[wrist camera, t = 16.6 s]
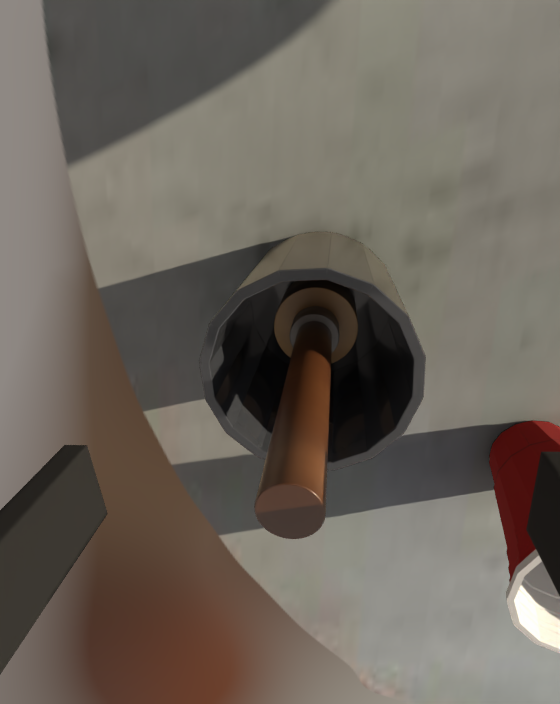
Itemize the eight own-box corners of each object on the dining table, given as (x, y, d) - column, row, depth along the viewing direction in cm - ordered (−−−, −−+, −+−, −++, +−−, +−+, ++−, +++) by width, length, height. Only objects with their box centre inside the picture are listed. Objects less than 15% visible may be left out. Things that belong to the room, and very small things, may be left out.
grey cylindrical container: (396, 226, 27) (431, 262, 17) (392, 372, 31) (419, 472, 21) (239, 236, 28) (184, 274, 18) (254, 374, 32) (216, 469, 22)
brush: (355, 271, 28) (382, 437, 11) (356, 344, 30) (380, 581, 13) (278, 275, 28) (189, 436, 11) (283, 345, 30) (214, 572, 13)
